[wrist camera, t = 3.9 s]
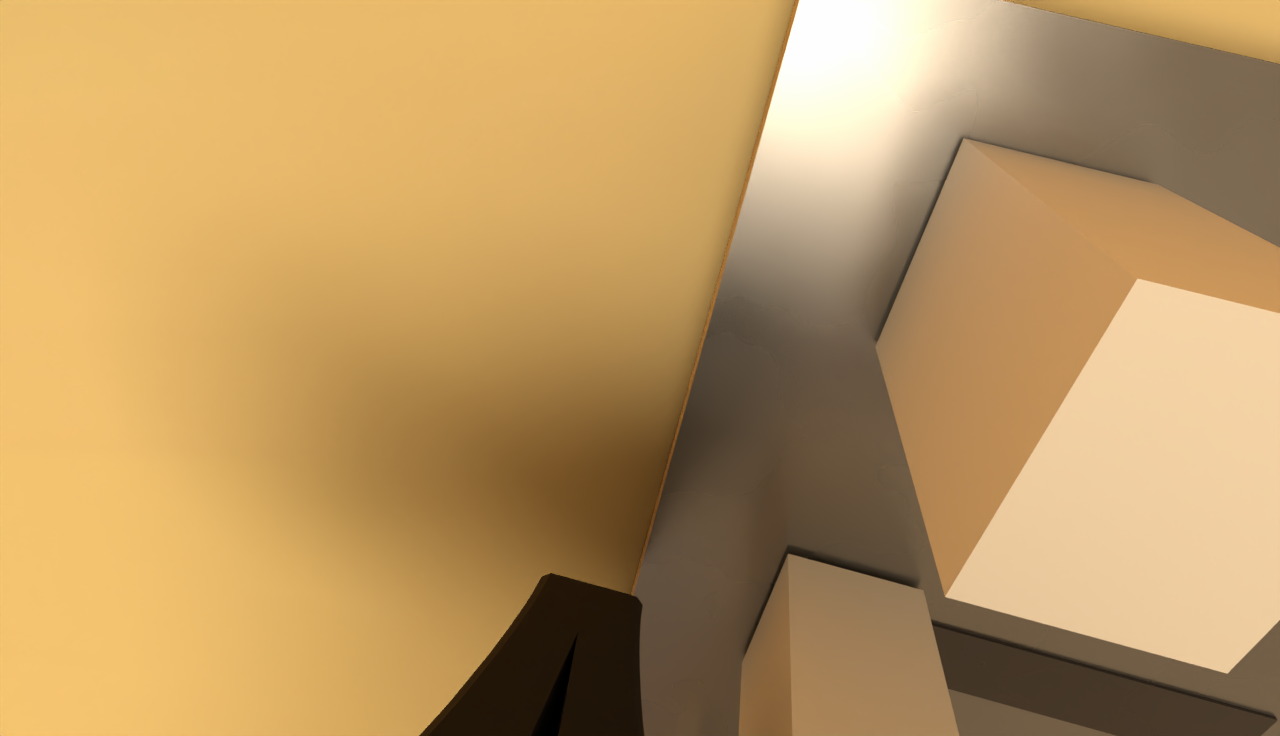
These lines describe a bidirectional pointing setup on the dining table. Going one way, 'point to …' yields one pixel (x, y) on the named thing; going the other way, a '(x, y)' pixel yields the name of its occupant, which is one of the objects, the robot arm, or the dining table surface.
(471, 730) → the robot arm
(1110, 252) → the block
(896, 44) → the panel
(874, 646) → the block
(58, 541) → the dining table surface
